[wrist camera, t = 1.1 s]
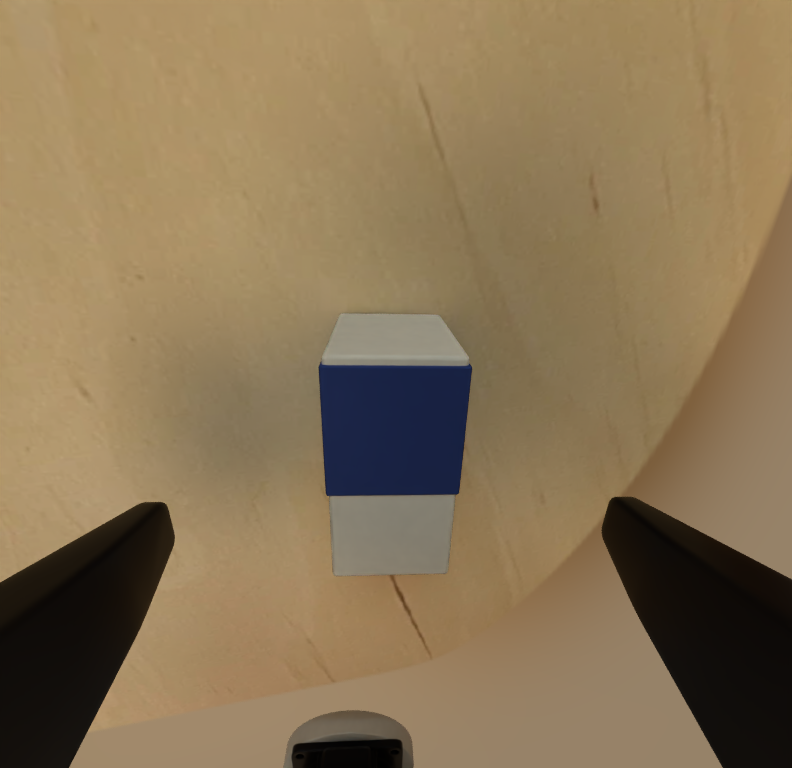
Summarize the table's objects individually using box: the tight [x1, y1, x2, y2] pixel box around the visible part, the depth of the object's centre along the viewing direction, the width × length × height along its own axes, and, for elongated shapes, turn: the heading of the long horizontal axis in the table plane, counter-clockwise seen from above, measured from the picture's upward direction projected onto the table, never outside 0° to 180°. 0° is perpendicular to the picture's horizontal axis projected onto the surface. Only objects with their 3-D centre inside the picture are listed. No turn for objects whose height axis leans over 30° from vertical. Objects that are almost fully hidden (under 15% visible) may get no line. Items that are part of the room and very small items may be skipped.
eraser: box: [319, 313, 472, 576], centre depth 11 cm, size 6×3×4 cm, turn 179°
